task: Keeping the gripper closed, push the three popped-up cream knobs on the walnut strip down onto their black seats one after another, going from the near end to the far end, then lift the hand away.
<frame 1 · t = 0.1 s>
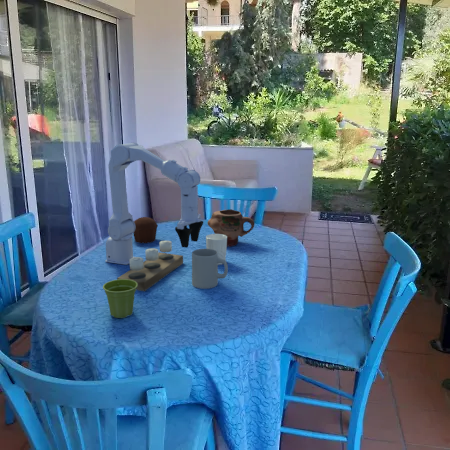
hand: (189, 244, 157), 10 cm above the table, tool pointing down, fingers open, 7 cm apart
knob near: (136, 263, 146), point 7 cm above the table, slide at 2.5 cm
plant pot: (121, 314, 127), on the table
knob far: (165, 246, 164), point 7 cm above the table, slide at 2.5 cm
mug: (209, 285, 149), on the table
muffin: (144, 240, 195), on the table
white cup: (216, 262, 170), on the table
brown ceramic rounded pot: (230, 243, 192), on the table
knob middle: (152, 254, 155), point 7 cm above the table, slide at 2.5 cm
knob strip: (152, 274, 157), on the table
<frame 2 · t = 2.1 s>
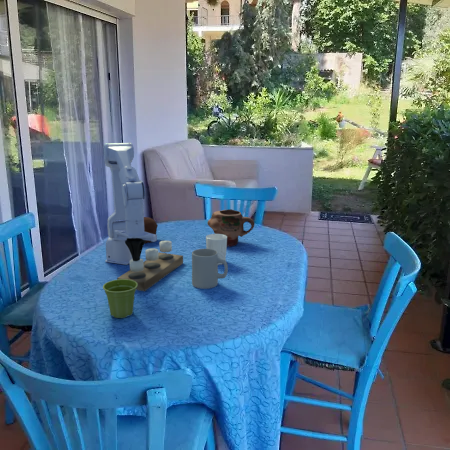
hand: (136, 260, 145), 8 cm above the table, tool pointing down, fingers closed, pressing on knob near
knob near: (136, 264, 146), point 7 cm above the table, slide at 2.1 cm, touching gripper
everything else where it was.
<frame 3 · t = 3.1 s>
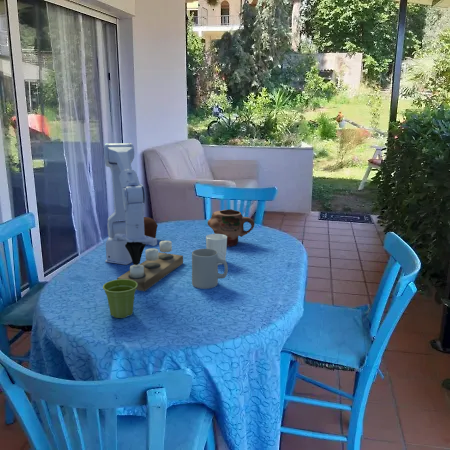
hand: (136, 263, 146), 7 cm above the table, tool pointing down, fingers closed
knob near: (136, 270, 146), point 5 cm above the table, slide at 0.0 cm, touching knob strip
everything else where it was.
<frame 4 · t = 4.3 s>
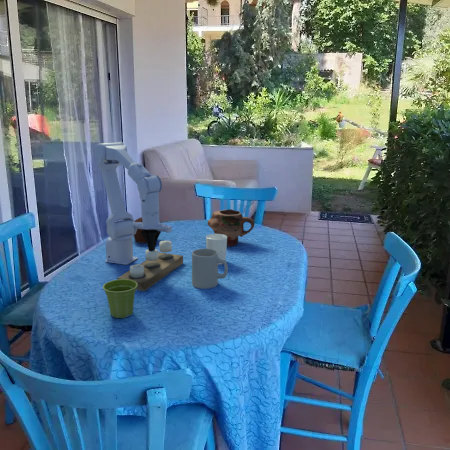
hand: (151, 250, 154), 9 cm above the table, tool pointing down, fingers closed, pressing on knob middle
knob middle: (152, 254, 155), point 7 cm above the table, slide at 2.4 cm, touching gripper
everything else where it was.
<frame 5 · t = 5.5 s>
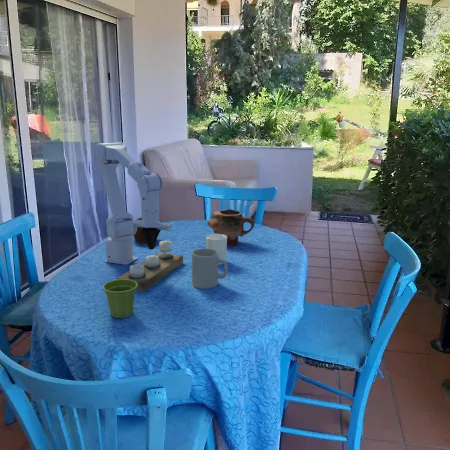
hand: (151, 248, 154), 9 cm above the table, tool pointing down, fingers closed
knob middle: (152, 261, 156), point 5 cm above the table, slide at 0.0 cm, touching knob strip
everything else where it was.
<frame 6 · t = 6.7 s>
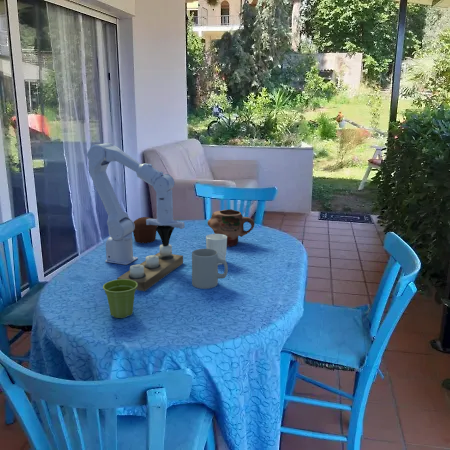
hand: (165, 245, 164), 8 cm above the table, tool pointing down, fingers closed, pressing on knob far
knob far: (165, 249, 164), point 6 cm above the table, slide at 1.2 cm, touching gripper
everything else where it was.
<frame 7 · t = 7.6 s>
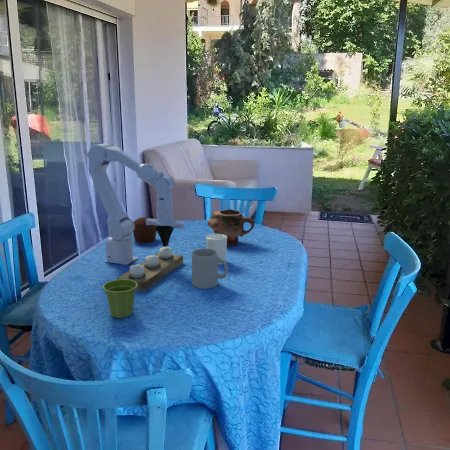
hand: (165, 245, 164), 7 cm above the table, tool pointing down, fingers closed
knob far: (165, 252, 165), point 5 cm above the table, slide at 0.0 cm, touching knob strip
everything else where it was.
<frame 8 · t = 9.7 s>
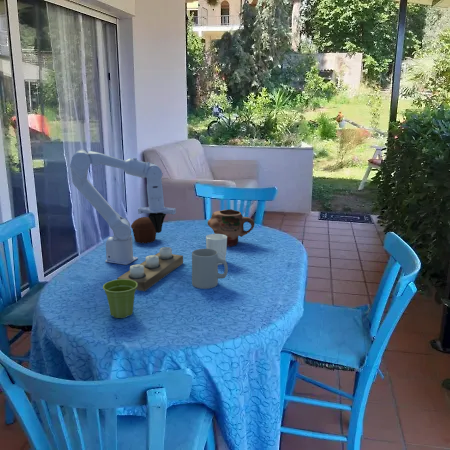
hand: (158, 232, 170), 10 cm above the table, tool pointing down, fingers closed
nothing on the table moved.
at the end: knob near slide at 0.0 cm; knob middle slide at 0.0 cm; knob far slide at 0.0 cm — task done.
